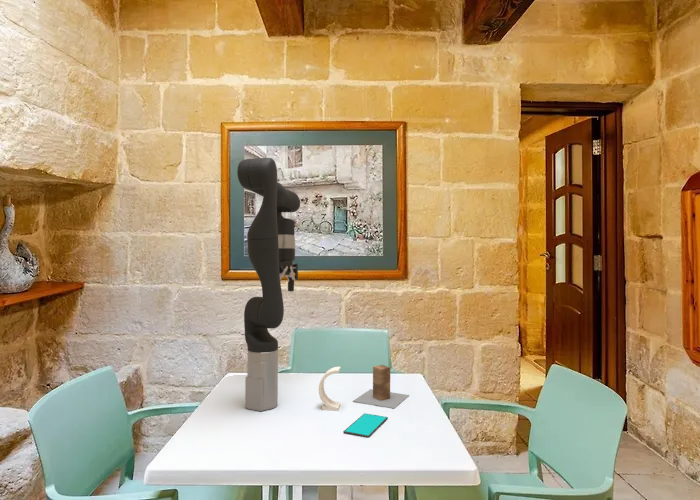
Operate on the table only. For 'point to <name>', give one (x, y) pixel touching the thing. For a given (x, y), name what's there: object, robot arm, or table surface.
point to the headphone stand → (325, 399)
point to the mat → (389, 403)
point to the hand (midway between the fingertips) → (284, 291)
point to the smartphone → (365, 425)
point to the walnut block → (381, 382)
